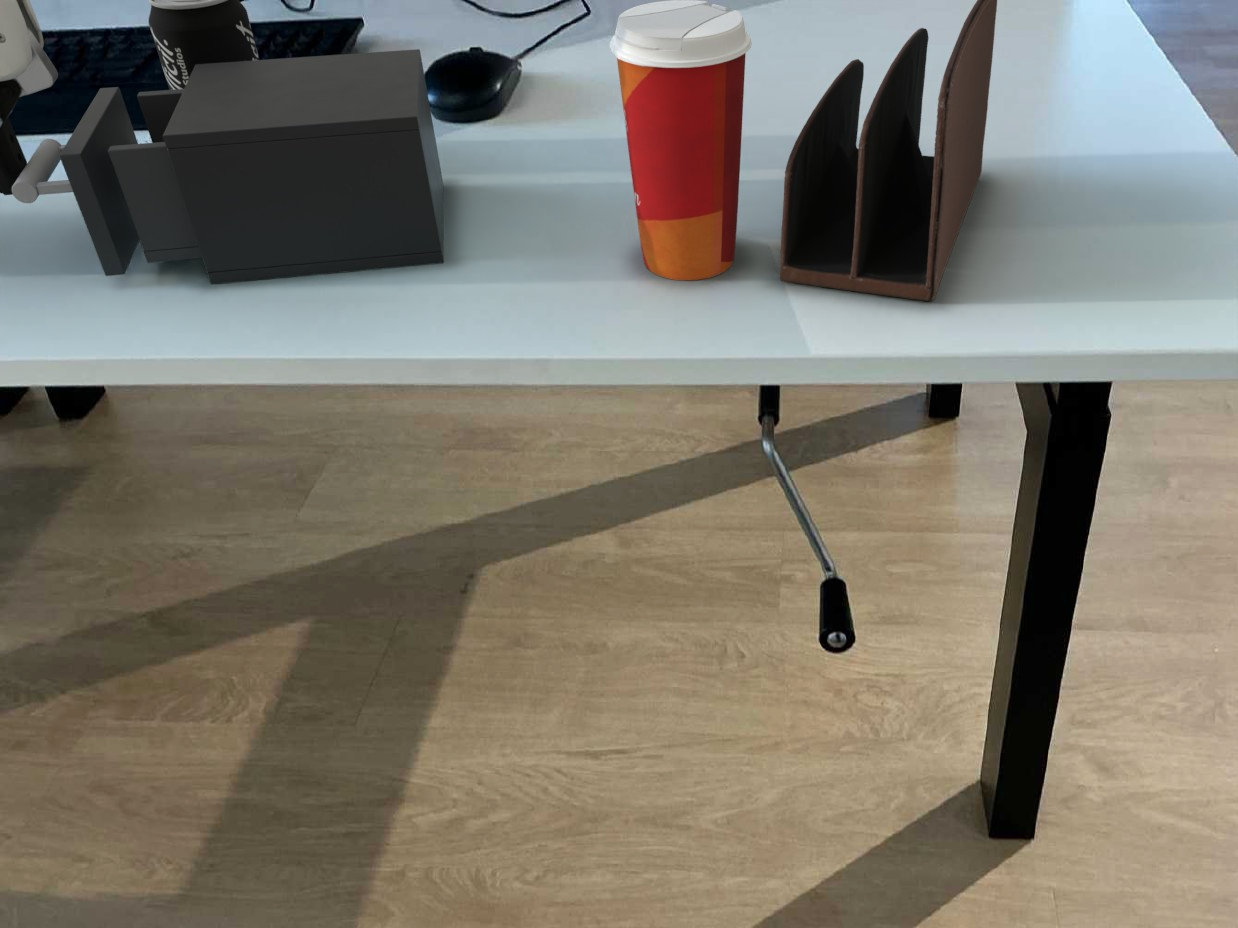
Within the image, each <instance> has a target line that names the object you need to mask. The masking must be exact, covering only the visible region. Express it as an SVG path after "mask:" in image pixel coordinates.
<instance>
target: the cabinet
mask: <svg viewBox="0 0 1238 928" xmlns="http://www.w3.org/2000/svg"><path fill="white" fill-rule="evenodd" d="M430 105H431V104H430V99H429V94H428V88H427V83H426V76H425V71H424V66H423V60H422V54H421V49H419V48H417V49H416V48H415V49H403V50H389V51H388V50H387V51H373V52H371V51H370V52H360V53H359V52H358V53H345V54H344V53H343V54H342V53H341V54H327V55H316V56H315V55H314V56H300V57H285V58H283V57H282V58H271V59H270V58H269V59H268V58H267V59H259V60H254V61H239V62H224V63H209V64H196V65H195V67H194V69H193V71H192V73H191V76H190V78H189V80H188V82H187V84H186V86H185V89H184V91H183V93H182V95H181V97H180V99H179V102H178V104H177V106H176V108H175V110H174V112H173V115H172V117H171V119H170V121H169V123H168V125H167V128H166V130H165V132H164V134H163V139H164V142H165V145H166V148H167V151H168V154H169V157H170V160H171V163H172V166H173V169H174V172H175V175H176V178H177V182H178V185H179V188H180V191H181V194H182V197H183V200H184V203H185V206H186V209H187V212H188V215H189V219H190V222H191V225H192V228H193V231H194V234H195V237H196V240H197V243H198V246H199V249H200V253H201V256H202V258H201V260H202V261H203V265H204V268H205V271H206V272H207V273H206V274H207V277H208V281H209V283H210V285H217V284H227V283H239V282H249V281H260V280H273V279H282V278H294V277H304V276H315V275H316V276H317V275H325V274H337V273H347V272H358V271H359V272H360V271H369V270H380V269H381V270H382V269H391V268H402V267H412V266H413V267H414V266H422V265H423V266H425V265H433V264H435V265H436V264H443V263H444V262H445V261H444V260H445V259H444V258H445V257H444V255H445V254H444V253H445V252H444V249H445V248H444V246H445V245H444V243H445V241H444V240H445V239H444V238H445V237H444V180H443V175H442V168H441V163H440V158H439V152H438V146H437V140H436V133H435V128H434V123H433V117H432V111H431V106H430Z"/></svg>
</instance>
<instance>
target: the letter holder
mask: <svg viewBox="0 0 1238 928" xmlns="http://www.w3.org/2000/svg"><path fill="white" fill-rule="evenodd" d="M997 7H998V0H976V1H975V3H974V4H973V6H972V8H971V10H970V11H969V13H968V15H967V16H966V19H965V20H964V22H963V25H962V27H961V29H960V32H959V34H958V36H957V40H956V42H955V44H954V46H953V48H952V52H951V54H950V57H949V59H948V62H947V64H946V67H945V71H944V74H943V77H942V80H941V84H940V87H939V88H940V89H939V92H938V98H937V108H936V113H937V114H936V125H935V126H936V127H935V138H934V155H923V153H922V151H921V148H920V136H921V124H922V111H923V98H924V87H925V79H926V78H925V77H926V65H927V55H928V53H927V52H928V43H929V32H928V30H927V28H924V27H920V28H918V29H917V30H916V31H915V32H913V34H912V35H911V36H910V37H909V38H908V39H907V41H906V42H905V43H904V44H903V45H902V47H901V49H900V50H899V52H898V53H897V55H896V56H895V58H894V60H893V61H892V63H890V66H889V68H888V70H887V71H886V73H885V75H884V76H883V79H882V81H881V83H880V85H879V87H878V89H877V91H876V93H875V95H874V97H873V99H872V102H871V104H870V107H869V109H868V112H867V114H866V116H865V118H864V120H863V123H862V127H861V131H860V135H859V142H858V147H857V140H858V134H859V133H858V132H859V120H860V108H861V96H862V90H863V89H862V88H863V83H864V75H865V74H864V71H865V65H864V62H863V61H861V60H860V59H859V58H858V59H856V58H855V59H853V60H851V61H850V62H849V63H848V64H847V65H846V66H845V67H844V68H843V69H842V70H841V71H840V73H838V75H837V76H836V77H835V78H834V80H833V81H832V83H831V84H830V85H829V87H828V88H827V89H826V91H825V93H823V95H822V97H821V98H820V100H819V101H818V103H817V104H816V106H815V107H814V109H813V110H812V112H811V113H810V115H809V117H808V118H807V120H806V122H805V123H804V125H803V127H802V128H801V131H800V133H799V135H798V137H797V138H796V140H795V142H794V144H793V147H792V149H791V151H790V153H789V154H790V155H789V157H788V159H787V162H786V166H785V171H784V182H783V201H782V221H781V236H780V253H779V254H780V255H779V256H780V257H779V258H780V259H779V273H778V275H779V280H780V281H782V282H785V283H792V284H801V285H806V286H814V287H822V288H827V289H833V290H842V291H850V292H857V293H863V294H870V295H878V296H884V297H885V296H886V297H894V298H900V299H908V300H917V301H921V302H933V300H934V299H935V298H936V296H937V293H938V289H939V286H940V283H941V280H942V278H943V274H944V272H945V269H946V266H947V264H948V261H949V258H950V257H951V253H952V252H953V248H954V246H955V243H956V241H957V238H958V235H959V232H960V230H961V228H962V226H963V225H962V224H963V222H964V219H965V216H966V214H967V211H968V209H969V206H970V203H971V200H972V198H973V195H974V192H975V189H976V186H977V184H978V182H979V181H980V178H981V174H982V170H983V158H984V157H983V156H984V144H985V136H986V135H985V134H986V126H987V125H986V124H987V117H988V109H989V108H988V107H989V97H990V87H991V86H990V85H991V76H992V64H993V56H994V44H995V43H994V42H995V31H996V20H997V19H996V18H997V12H998V10H997Z"/></svg>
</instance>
